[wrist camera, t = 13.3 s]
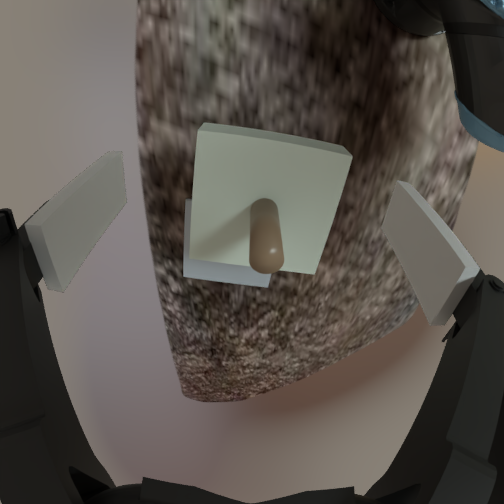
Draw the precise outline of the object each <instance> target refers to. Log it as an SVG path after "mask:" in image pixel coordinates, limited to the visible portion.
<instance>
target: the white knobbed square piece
mask: <svg viewBox="0 0 504 504" xmlns="http://www.w3.org/2000/svg"><path fill="white" fill-rule="evenodd" d="M352 158H353V156H352V155H351V154H350V153H349V152H348V151H347V150H346V149H345V148H344V146H341V145H337V144H333V143H328V142H324V141H319V140H314V139H309V138H305V137H299V136H294V135H289V134H283V133H278V132H272V131H265V130H259V129H252V128H245V127H238V126H230V125H222V124H213V123H203V125H202V126H201V127H200V128H199V129H198V133H197V143H196V155H195V166H194V179H193V193H192V209H191V228H190V251H189V259H196V260H204V261H211V262H219V263H227V264H234V265H242V266H250V267H252V269H253V270H255V271H256V272H258V273H261V274H271V273H274V272H277V271H278V270H282V271H290V272H298V273H307V274H315V272H316V269H317V266H318V264H319V261H320V258H321V255H322V252H323V249H324V246H325V243H326V240H327V238H328V235H329V232H330V229H331V226H332V223H333V219H334V216H335V213H336V210H337V207H338V204H339V201H340V198H341V194H342V191H343V188H344V185H345V181H346V178H347V175H348V171H349V168H350V165H351V161H352Z"/></svg>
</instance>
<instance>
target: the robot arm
mask: <svg viewBox="0 0 504 504" xmlns="http://www.w3.org/2000/svg"><path fill="white" fill-rule="evenodd" d="M374 1H375V3H376V5H377V6H378V8H379V9H380V11H381V12H382V13H383V14H384V15H385V16H386V17H387V18H388V19H389V20H390V21H391V22H392V23H393V24H395V25H396V26H397V27H399V28H401V29H402V30H404V31H406V32H409V33H412V34H415V35H421V36H433V35H439V34H442V33H444V32H445V35H446V39H447V44H448V48H449V53H450V58H451V64H452V70H453V76H454V83H455V91H454V92H455V98H456V100H457V103H458V110H459V117H460V120H461V123H462V125H463V126H464V127H465V129H466V130H467V132H468V133H469V134H471V135H472V136H473V137H474V138H476V139H477V140H478V141H480V142H482V143H484V144H485V145H487V146H489V147H492V148H494V149H496V150H499V151H501V152H504V0H374ZM126 203H127V198H126V189H125V179H124V168H123V157H122V152H107V153H106V154H105V155H104V156H102V157H101V158H99V159H98V160H97V161H96V162H94V163H93V164H92V165H90V166H89V167H88V168H87V169H85V170H84V171H83V172H82V173H80V174H79V175H78V176H77V177H75V178H74V179H73V180H72V181H71V182H70V183H68V184H67V185H66V186H65V187H64V188H63V189H62V190H60V191H59V192H58V193H57V194H56V195H55V196H54V197H53V198H51V199H50V200H48V201H47V202H45V203H44V204H43V205H42V206H41V207H40V208H39V210H37V211H36V212H35V213H34V215H32V216H31V217H30V218H29V219H28V220H27V221H26V222H25V223H24V224H23V225H22V226H21V227H20V228H19V229H18V230H17V227H16V224H15V220H14V217H13V214H12V211H11V209H8V208H5V209H0V500H1V503H2V504H250V503H244V502H241V501H237V500H233V499H230V498H227V497H224V496H221V495H217V494H214V493H212V492H209V491H206V490H203V489H200V488H197V487H195V486H188V485H182V484H176V483H169V482H165V481H160V480H155V479H150V478H146V477H143V481H142V484H129V485H122V486H118V487H116V486H115V484H114V482H113V481H112V479H111V478H110V476H109V474H108V473H107V471H106V470H105V468H104V467H103V466H102V465H101V463H100V462H99V461H98V459H97V458H96V456H95V455H94V453H93V451H92V449H91V447H90V445H89V443H88V441H87V439H86V437H85V434H84V432H83V430H82V427H81V425H80V423H79V420H78V418H77V415H76V413H75V410H74V408H73V405H72V403H71V400H70V397H69V395H68V392H67V389H66V386H65V383H64V380H63V377H62V374H61V371H60V367H59V364H58V361H57V357H56V354H55V350H54V347H53V343H52V340H51V335H50V331H49V327H48V323H47V318H46V314H45V309H44V304H43V299H42V294H41V290H40V288H39V285H38V283H39V282H40V280H41V279H42V277H43V278H44V281H45V283H46V286H47V288H48V289H49V290H54V291H59V292H64V291H65V290H66V288H67V287H68V285H69V283H70V282H71V280H72V279H73V277H74V275H75V274H76V272H77V271H78V269H79V268H80V266H81V265H82V263H83V262H84V261H85V259H86V258H87V256H88V254H89V253H90V252H91V250H92V249H93V247H94V246H95V245H96V243H97V242H98V240H99V239H100V238H101V236H102V235H103V233H104V232H105V231H106V229H107V228H108V227H109V225H110V224H111V223H112V221H113V220H114V219H115V217H116V216H117V215H118V213H119V212H120V211H121V210H122V208H123V207H124V206H125V204H126ZM381 229H382V231H383V232H384V234H385V236H386V238H387V240H388V241H389V243H390V245H391V247H392V249H393V250H394V252H395V254H396V256H397V258H398V260H399V262H400V264H401V266H402V268H403V270H404V272H405V274H406V276H407V278H408V280H409V282H410V284H411V286H412V288H413V290H414V292H415V294H416V296H417V298H418V300H419V302H420V305H421V307H422V309H423V311H424V313H425V315H426V318H427V320H428V322H429V325H430V326H432V325H445V324H446V322H447V321H448V319H449V318H450V317H451V315H452V314H453V315H454V317H455V319H456V322H455V323H454V325H453V326H452V328H451V329H450V330H449V332H448V333H447V334H446V336H445V337H444V338H443V340H442V342H444V341H445V340H446V339H448V340H447V343H446V346H445V349H444V352H443V354H442V357H441V361H440V363H439V365H438V368H437V371H436V373H435V376H434V378H433V381H432V383H431V386H430V388H429V391H428V393H427V395H426V398H425V400H424V402H423V404H422V406H421V409H420V411H419V413H418V415H417V417H416V419H415V421H414V423H413V425H412V427H411V429H410V431H409V433H408V435H407V437H406V439H405V441H404V442H403V444H402V446H401V448H400V450H399V452H398V453H397V455H396V457H395V458H394V460H393V462H392V464H391V465H390V467H389V469H388V470H387V471H386V473H385V474H384V475H383V476H382V477H381V478H380V479H379V480H378V481H377V482H376V483H375V484H374V485H373V486H372V487H371V488H370V489H369V490H368V492H367V493H366V494H365V495H364V496H362V495H357V494H354V486H353V487H346V488H337V489H328V490H316V491H305V492H301V493H298V494H294V495H290V496H286V497H282V498H278V499H273V500H269V501H264V502H259V503H252V504H504V283H503V282H502V281H501V280H499V279H498V278H497V277H495V276H493V275H485V274H484V273H483V271H482V270H481V268H480V267H479V266H478V264H477V263H476V261H475V260H474V259H473V258H472V257H471V255H470V253H469V252H468V251H467V249H466V248H465V247H464V245H463V244H462V243H461V242H460V241H459V239H458V238H457V237H456V236H455V234H454V233H453V232H452V231H451V229H450V228H449V227H448V226H447V225H446V223H445V222H444V221H443V220H442V219H441V217H440V216H439V215H438V214H437V213H436V212H435V210H434V209H433V208H432V207H431V206H430V205H429V204H428V203H427V201H426V200H425V199H424V198H423V197H422V196H421V195H420V194H419V193H418V192H417V190H416V189H415V188H414V187H413V186H412V185H411V184H410V183H407V182H403V181H398V180H397V181H396V184H395V187H394V190H393V194H392V197H391V200H390V203H389V206H388V209H387V212H386V215H385V218H384V221H383V224H382V226H381Z"/></svg>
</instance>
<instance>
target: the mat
mask: <svg viewBox="0 0 504 504" xmlns="http://www.w3.org/2000/svg"><path fill="white" fill-rule="evenodd" d="M191 209H192V199H187V198H186V202H185V225H184V262H183V277H189V278H196V279H204V280H211V281H219V282H227V283H234V284H242V285H251V286H259V287H267V288H268V285H269V281H270V277H271V274H261V273H258V272H256V271H255V270H253V269H252V267H250V266H242V265H234V264H227V263H219V262H211V261H204V260H196V259H189V251H190V228H191Z"/></svg>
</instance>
